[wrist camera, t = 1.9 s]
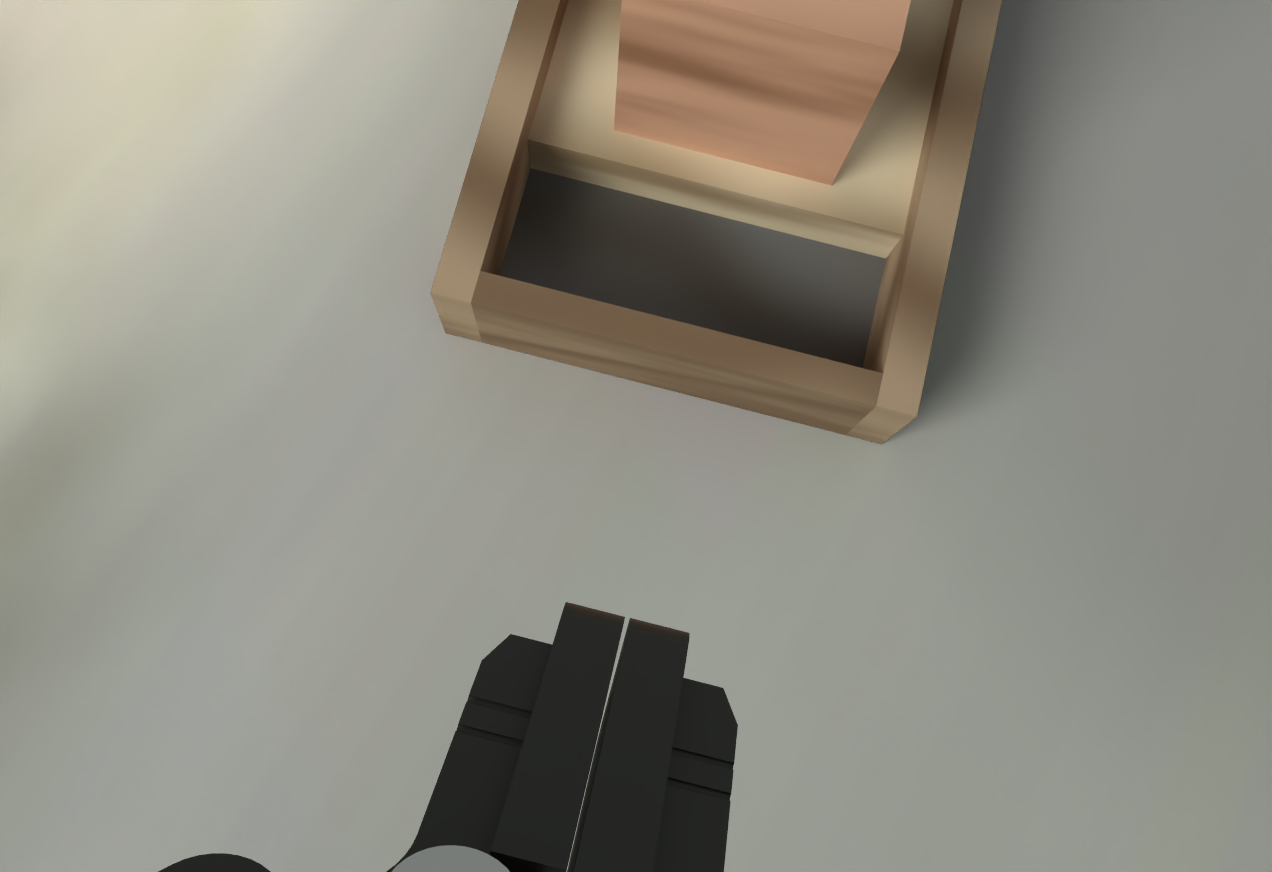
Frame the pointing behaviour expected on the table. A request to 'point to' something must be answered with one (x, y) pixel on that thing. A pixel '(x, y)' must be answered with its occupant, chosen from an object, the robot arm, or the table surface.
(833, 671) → the table surface
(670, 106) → the block
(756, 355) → the trough
